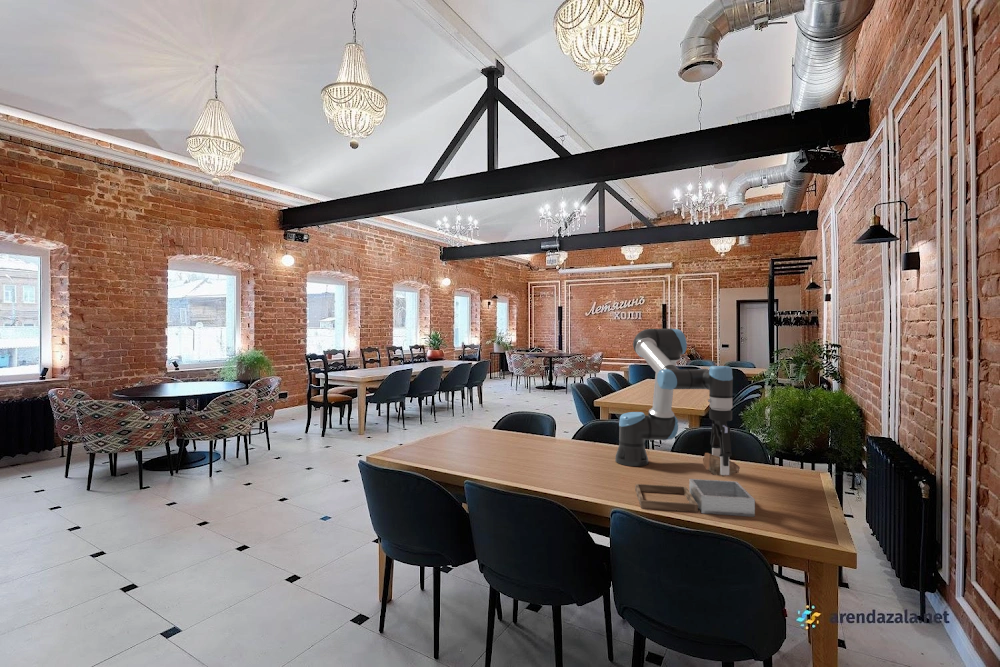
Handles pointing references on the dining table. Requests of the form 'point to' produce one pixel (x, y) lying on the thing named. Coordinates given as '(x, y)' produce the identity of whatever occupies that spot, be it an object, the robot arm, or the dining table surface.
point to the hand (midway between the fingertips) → (720, 470)
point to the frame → (662, 505)
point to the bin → (722, 497)
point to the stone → (718, 465)
